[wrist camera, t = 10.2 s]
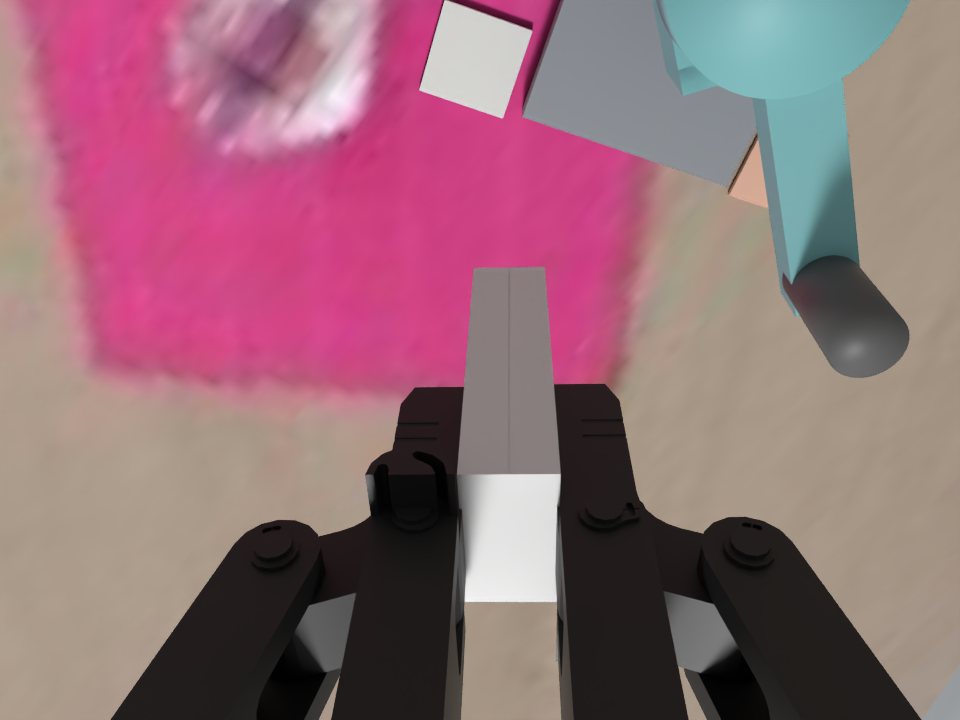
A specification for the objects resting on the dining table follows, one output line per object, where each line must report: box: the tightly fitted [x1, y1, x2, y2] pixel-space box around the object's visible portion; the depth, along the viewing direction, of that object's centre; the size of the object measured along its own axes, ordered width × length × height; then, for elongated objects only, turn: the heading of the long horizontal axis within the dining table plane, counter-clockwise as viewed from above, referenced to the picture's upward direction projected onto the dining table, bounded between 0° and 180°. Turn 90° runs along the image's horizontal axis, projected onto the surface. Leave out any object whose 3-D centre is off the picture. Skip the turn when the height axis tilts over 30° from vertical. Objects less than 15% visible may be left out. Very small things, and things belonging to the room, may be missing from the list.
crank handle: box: [652, 0, 910, 378], centre depth 30 cm, size 17×8×11 cm, turn 18°
